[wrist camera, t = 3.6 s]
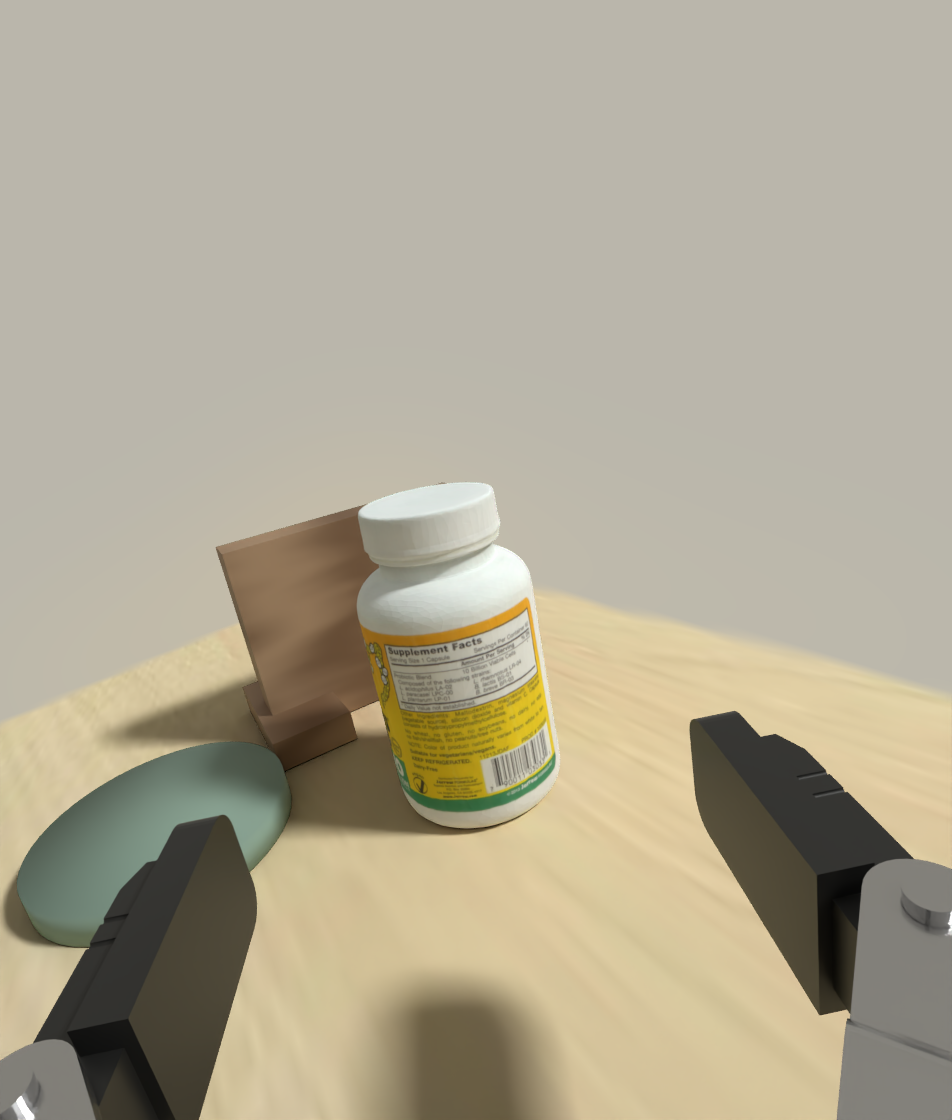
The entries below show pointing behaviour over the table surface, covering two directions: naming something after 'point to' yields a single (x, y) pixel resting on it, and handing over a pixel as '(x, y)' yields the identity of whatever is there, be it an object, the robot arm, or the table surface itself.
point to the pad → (146, 830)
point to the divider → (303, 631)
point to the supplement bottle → (456, 656)
